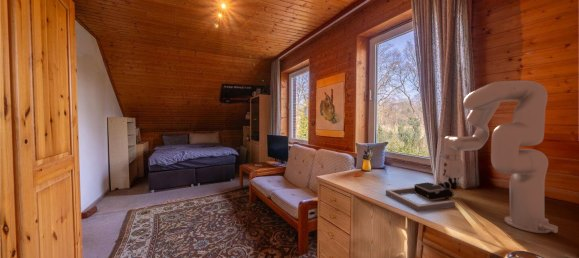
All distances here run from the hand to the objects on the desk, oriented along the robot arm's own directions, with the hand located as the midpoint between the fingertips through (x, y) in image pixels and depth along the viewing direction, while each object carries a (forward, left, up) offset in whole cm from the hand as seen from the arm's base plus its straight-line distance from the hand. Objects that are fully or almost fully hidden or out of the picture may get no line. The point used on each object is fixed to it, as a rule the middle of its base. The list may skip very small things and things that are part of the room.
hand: (453, 188), depth 123 cm
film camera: (+2, +10, -4) cm, 11 cm away
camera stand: (0, +24, -4) cm, 24 cm away
